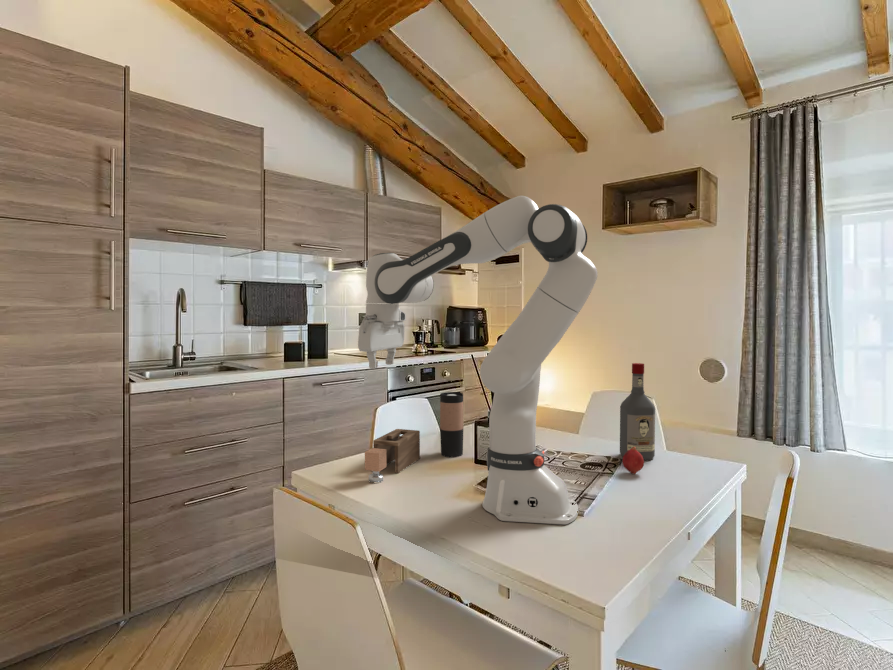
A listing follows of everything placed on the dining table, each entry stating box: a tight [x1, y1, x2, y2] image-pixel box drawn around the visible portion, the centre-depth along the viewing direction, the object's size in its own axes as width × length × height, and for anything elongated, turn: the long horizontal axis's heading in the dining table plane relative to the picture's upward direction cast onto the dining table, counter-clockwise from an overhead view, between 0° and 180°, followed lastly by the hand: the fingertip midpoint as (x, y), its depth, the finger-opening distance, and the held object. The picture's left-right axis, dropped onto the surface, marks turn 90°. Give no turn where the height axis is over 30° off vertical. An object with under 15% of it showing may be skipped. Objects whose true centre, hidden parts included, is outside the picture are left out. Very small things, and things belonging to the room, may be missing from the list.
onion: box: [621, 447, 645, 475], centre depth 150 cm, size 6×6×8 cm
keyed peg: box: [364, 447, 388, 483], centre depth 145 cm, size 4×4×8 cm
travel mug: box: [439, 391, 464, 458], centre depth 171 cm, size 8×8×20 cm
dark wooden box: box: [372, 428, 421, 474], centre depth 160 cm, size 8×16×9 cm, turn 160°
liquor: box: [619, 362, 656, 461], centre depth 167 cm, size 9×9×30 cm
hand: (381, 366), depth 140 cm, fingers open, 8 cm apart
